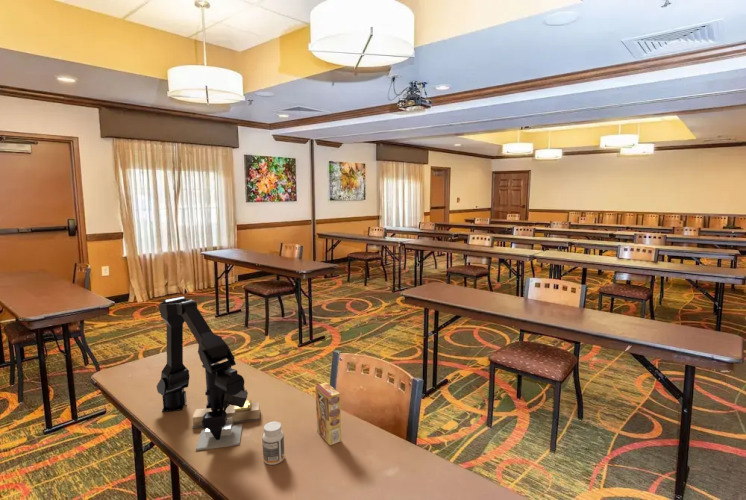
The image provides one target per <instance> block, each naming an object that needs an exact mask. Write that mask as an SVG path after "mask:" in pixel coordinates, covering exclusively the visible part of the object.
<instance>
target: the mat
mask: <svg viewBox="0 0 746 500" xmlns="http://www.w3.org/2000/svg"><path fill="white" fill-rule="evenodd" d="M242 430H243V424H236V425H235V424H233V426H232V431H231V435H225V436H221V437H220V440H216V439H215V438H214V437H209V438H206V436H205V431H206V428H205V429H204V428H201V430H200V434H199V437H198V440H197V442H196V447H195V451H196V452H197V451H203V450H211V449H218V448H226V447H232V446H233V447H234V446H239V445H240V444H241V439H242V438H241V437H242Z"/></svg>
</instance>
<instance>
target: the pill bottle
mask: <svg viewBox="0 0 746 500" xmlns="http://www.w3.org/2000/svg"><path fill="white" fill-rule="evenodd" d="M282 428H283V427H282V423H281V422H279V421H270V422H269V421H268V422H267V423H266V424H265V425H264V426H263V434H262V438H261V440H262V455H263V456H262V457H263V461H264V463H265V464H266V465H271V466H272V465H273V466H274V465H278V464H281V462H283V461H284V460H285V435H284V432H283V431H282Z"/></svg>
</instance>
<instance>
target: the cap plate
mask: <svg viewBox="0 0 746 500" xmlns="http://www.w3.org/2000/svg"><path fill="white" fill-rule="evenodd" d="M233 425H234V423H233V417H227V421H226V425H225V426H222V430H221V436H225V435H231V431H232V426H233ZM205 429H206V431H205V436H206V438H209V437H214V436H213V435H212V433H211V432H210V430H209V429H208V428H205Z"/></svg>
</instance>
